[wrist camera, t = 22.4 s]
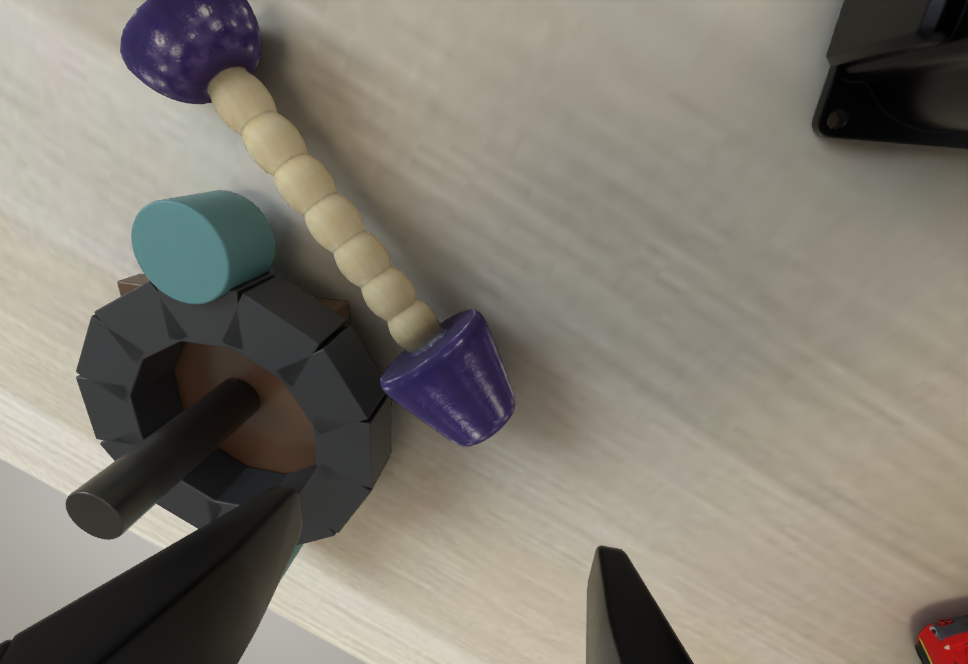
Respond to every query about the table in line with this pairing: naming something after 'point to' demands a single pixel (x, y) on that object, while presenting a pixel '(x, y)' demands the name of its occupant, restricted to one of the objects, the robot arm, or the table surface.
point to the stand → (201, 433)
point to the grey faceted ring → (253, 333)
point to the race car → (944, 642)
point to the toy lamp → (323, 211)
